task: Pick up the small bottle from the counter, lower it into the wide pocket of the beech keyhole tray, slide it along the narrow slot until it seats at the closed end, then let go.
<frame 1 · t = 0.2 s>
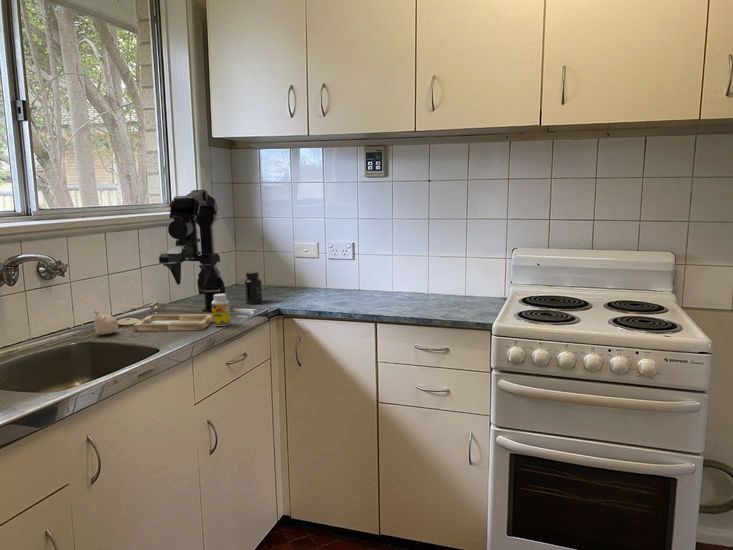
hand: (191, 285, 175), 14 cm above the table, tool pointing down, fingers open, 9 cm apart
keyhole tray: (183, 325, 182), on the table
supplement bottle: (254, 303, 216), on the table
garlic bulb: (107, 334, 172), on the table
supplement bottle 2: (221, 325, 181), on the table
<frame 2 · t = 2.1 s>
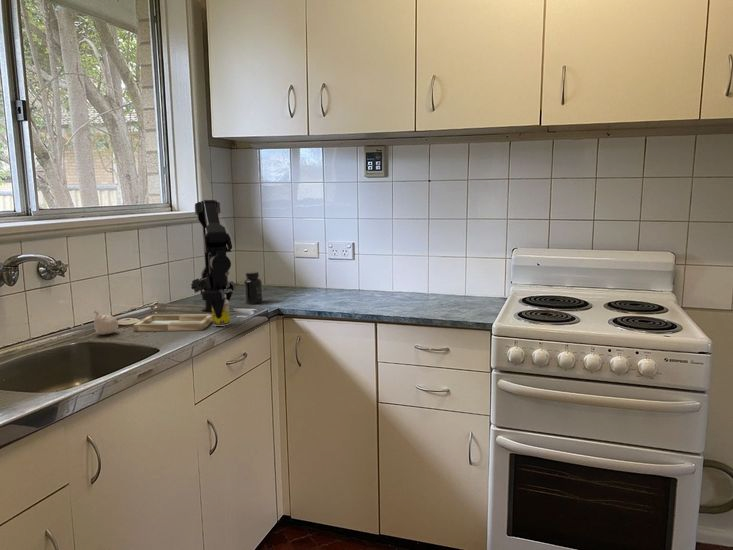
hand: (221, 316, 181), 3 cm above the table, tool pointing down, fingers closed on supplement bottle 2, 6 cm apart
supplement bottle 2: (221, 325, 181), on the table, touching gripper
everything else where it was.
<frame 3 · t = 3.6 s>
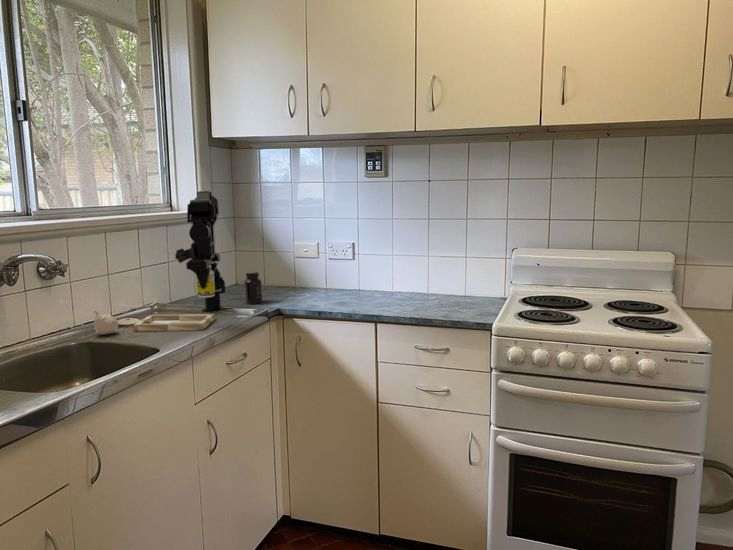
hand: (205, 287, 179), 13 cm above the table, tool pointing down, fingers closed on supplement bottle 2, 6 cm apart
supplement bottle 2: (206, 296, 180), point 9 cm above the table, touching gripper
everything else where it was.
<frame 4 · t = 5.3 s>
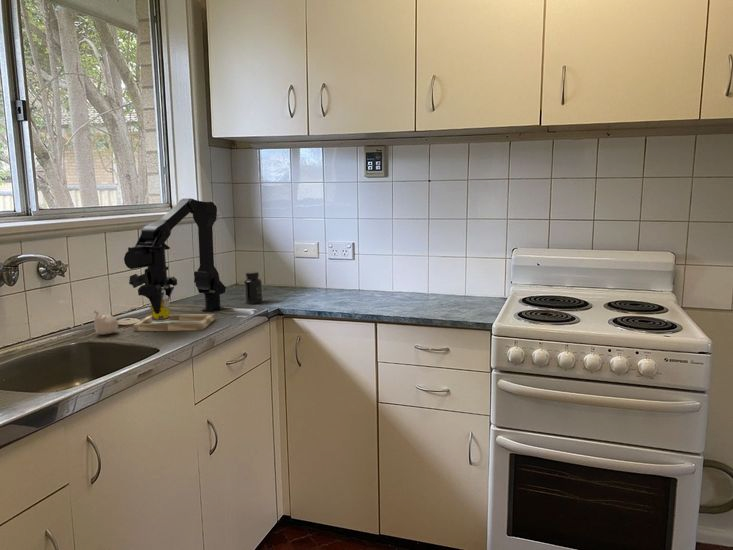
hand: (160, 311, 182), 5 cm above the table, tool pointing down, fingers closed on supplement bottle 2, 6 cm apart
supplement bottle 2: (161, 321, 182), point 1 cm above the table, touching gripper
everything else where it was.
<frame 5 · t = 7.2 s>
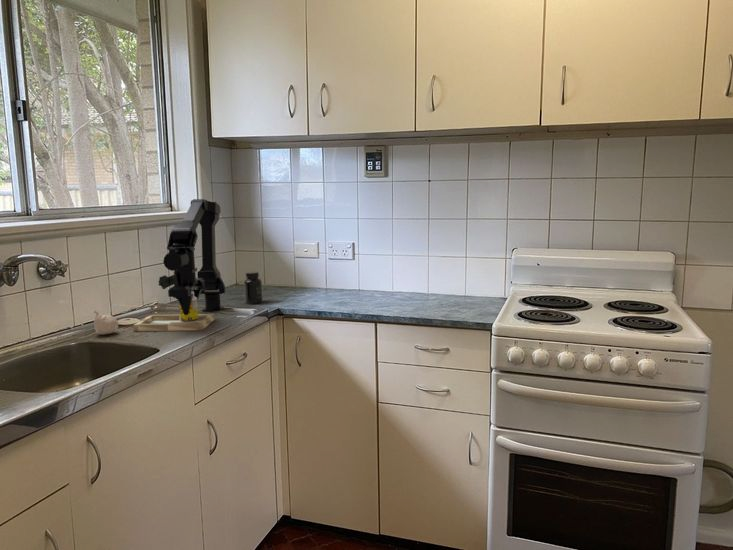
hand: (189, 312, 182), 4 cm above the table, tool pointing down, fingers closed on supplement bottle 2, 6 cm apart
supplement bottle 2: (189, 322, 182), point 1 cm above the table, touching gripper
everything else where it was.
when the fingers open (4 cm above the table, at t = 8.6 s): supplement bottle 2 stays where it is, resting on keyhole tray.
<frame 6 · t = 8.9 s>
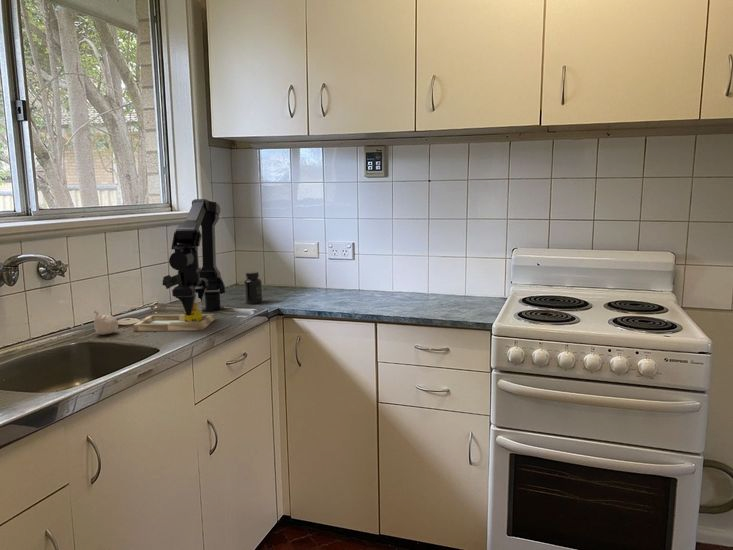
hand: (192, 312, 181), 4 cm above the table, tool pointing down, fingers open, 8 cm apart
supplement bottle 2: (193, 324, 182), resting on keyhole tray
everything else where it was.
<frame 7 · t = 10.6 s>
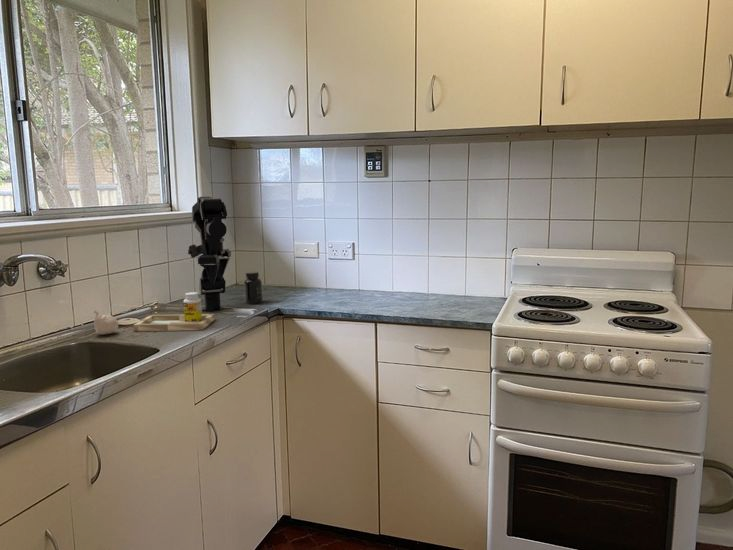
hand: (216, 281, 190), 13 cm above the table, tool pointing down, fingers open, 9 cm apart
nothing on the table moved.
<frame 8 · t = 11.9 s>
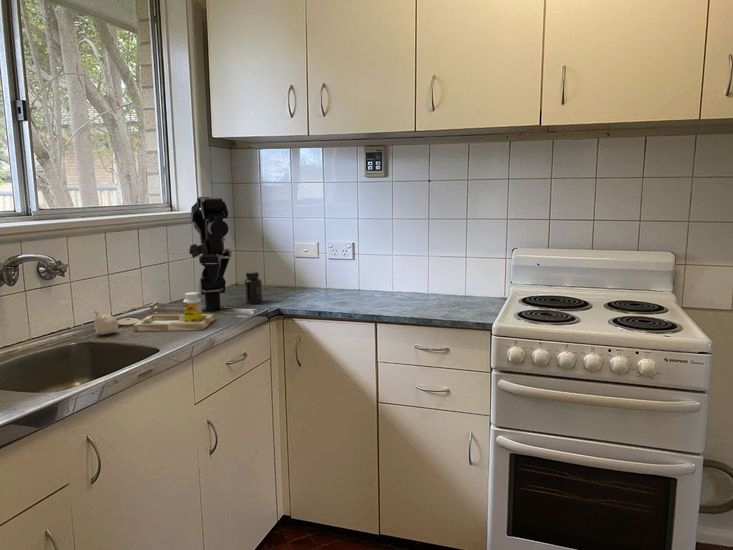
hand: (217, 280, 190), 13 cm above the table, tool pointing down, fingers open, 9 cm apart
nothing on the table moved.
at the end: supplement bottle 2 0.1 cm from the target spot on the keyhole tray, point 0.2 cm above the keyhole tray's base; supplement bottle 2 tilted 0°; the gripper is holding nothing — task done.
